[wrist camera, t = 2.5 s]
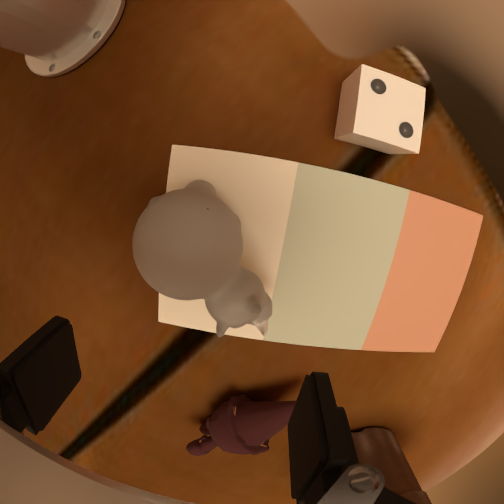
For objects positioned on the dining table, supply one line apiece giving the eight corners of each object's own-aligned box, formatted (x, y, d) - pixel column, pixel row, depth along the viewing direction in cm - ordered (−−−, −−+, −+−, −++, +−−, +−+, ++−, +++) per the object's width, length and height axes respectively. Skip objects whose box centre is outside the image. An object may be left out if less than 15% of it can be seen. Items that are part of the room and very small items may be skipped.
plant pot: (360, 477, 36) (377, 550, 20) (279, 469, 34) (281, 559, 19) (425, 421, 31) (463, 502, 16) (342, 408, 29) (372, 524, 14)
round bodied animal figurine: (230, 323, 26) (219, 388, 18) (143, 219, 23) (91, 248, 15) (297, 280, 24) (313, 336, 16) (208, 164, 22) (178, 165, 14)
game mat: (172, 144, 21) (172, 144, 21) (482, 215, 22) (483, 215, 22) (159, 320, 26) (158, 321, 26) (433, 351, 27) (434, 352, 27)
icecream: (285, 396, 21) (161, 434, 25) (325, 450, 21) (202, 477, 25) (295, 357, 27) (187, 400, 32) (328, 406, 27) (221, 441, 31)
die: (342, 82, 19) (362, 63, 15) (396, 99, 20) (426, 88, 15) (333, 138, 21) (353, 132, 16) (389, 154, 21) (419, 153, 16)
